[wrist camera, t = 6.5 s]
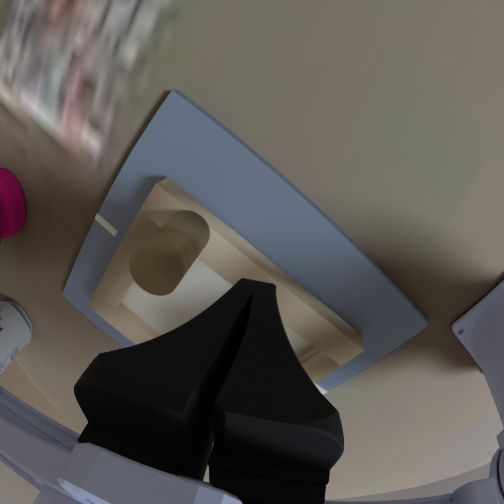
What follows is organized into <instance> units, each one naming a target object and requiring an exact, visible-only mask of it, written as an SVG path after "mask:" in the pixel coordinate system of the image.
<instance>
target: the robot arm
mask: <svg viewBox="0 0 504 504" xmlns="http://www.w3.org/2000/svg"><path fill="white" fill-rule="evenodd" d="M276 288H277V287H276V285H275V284H273V283H268V282H262V281H257V280H251V279H246V278H241V279H239V280H238V281H237V282H236V283H235V284H234V285H233V286H232V287H231V288H230V289H229V290H228V291H227V292H226V293H225V294H224V295H223V296H221V297H220V298H219V299H218V300H217V301H215V302H214V303H213V304H212V305H211V306H209V307H208V308H207V309H205V310H204V311H202V312H201V313H200V314H198V315H197V316H195V317H194V318H192V319H191V320H189V321H188V322H186V323H184V324H183V325H181V326H179V327H177V328H175V329H173V330H171V331H169V332H167V333H165V334H163V335H160V336H158V337H156V338H153V339H151V340H148V341H145V342H143V343H140V344H136V345H133V346H130V347H126V348H122V349H118V350H114V351H109V352H105V353H99V354H98V356H97V357H96V358H95V359H94V360H93V361H92V362H91V363H90V365H89V366H88V367H87V369H86V370H85V372H84V373H83V374H82V376H81V377H80V379H79V380H78V381H77V383H76V384H75V386H74V394H75V397H76V399H77V402H78V404H79V405H80V407H81V409H82V411H83V413H84V415H85V417H86V418H87V420H88V424H87V425H86V427H85V428H84V430H83V432H82V433H81V435H80V434H78V433H76V432H74V431H72V430H70V429H69V428H67V427H65V426H63V425H61V424H59V423H58V422H56V421H54V420H53V419H51V418H49V417H47V416H46V415H44V414H42V413H41V412H39V411H37V410H36V409H34V408H33V407H31V406H30V405H28V404H26V403H25V402H23V401H22V400H20V399H19V398H17V397H16V396H14V395H13V394H12V393H10V392H9V391H7V390H6V389H4V388H3V387H2V386H0V460H1V461H2V462H3V463H5V464H6V465H7V466H8V467H9V468H11V469H12V470H13V471H14V472H16V473H17V474H18V475H19V476H21V477H22V478H23V479H25V480H26V481H27V482H29V483H30V484H32V485H33V486H35V487H36V488H37V489H39V490H40V492H39V494H38V496H37V498H36V499H35V501H34V503H33V504H504V429H503V430H502V431H501V432H500V433H499V434H498V435H497V440H498V444H499V447H500V448H499V449H498V450H497V451H496V452H495V454H494V456H493V457H492V461H491V465H490V473H489V478H486V479H482V480H477V481H473V482H469V483H467V484H465V485H463V486H461V487H459V488H458V489H456V490H455V491H454V492H453V493H451V494H445V495H439V496H432V497H424V498H416V499H405V500H392V501H368V502H367V501H364V502H351V501H325V490H326V485H327V484H328V482H329V474H330V469H331V468H332V467H333V466H334V464H335V463H336V462H337V461H338V460H339V458H340V457H341V455H342V453H343V451H344V436H343V429H342V424H341V420H340V416H339V412H338V411H337V410H336V408H335V407H334V406H333V405H332V404H331V403H330V402H329V401H328V400H327V399H326V398H325V397H324V396H323V395H322V393H321V392H320V391H319V389H318V388H317V387H316V386H315V384H314V383H313V382H312V380H311V379H310V377H309V376H308V374H307V373H306V371H305V370H304V368H303V366H302V365H301V363H300V361H299V360H298V358H297V356H296V354H295V352H294V350H293V348H292V346H291V344H290V341H289V339H288V337H287V334H286V331H285V329H284V326H283V323H282V319H281V316H280V312H279V308H278V303H277V296H276ZM461 329H462V330H461ZM460 330H461V331H460ZM452 331H453V333H454V334H455V335H456V336H457V338H458V339H459V340H460V341H461V343H462V344H463V345H464V347H465V348H466V349H467V351H468V352H469V353H470V355H471V356H472V357H473V359H474V360H475V361H476V363H477V364H478V365H479V367H480V368H481V369H482V371H483V374H484V376H485V379H486V381H487V383H488V386H489V388H490V391H491V394H492V396H493V399H494V401H495V404H496V407H497V410H498V412H499V415H500V418H501V421H502V424H503V427H504V280H503V281H502V282H501V283H500V284H499V285H498V286H497V287H496V288H494V289H493V290H492V291H491V292H490V293H489V294H488V295H487V296H486V297H484V298H483V299H482V300H481V301H480V302H479V303H478V304H476V305H475V306H474V307H473V308H472V309H470V310H469V311H468V312H467V313H466V314H464V315H463V316H462V317H461V318H459V319H458V320H457V321H456V322H454V323H453V325H452ZM213 442H214V444H213ZM212 445H213V447H212ZM211 449H212V450H211ZM210 453H211V454H210ZM209 456H210V457H209ZM207 464H208V466H209V483H208V482H204V481H203V479H204V475H205V471H206V468H207Z"/></svg>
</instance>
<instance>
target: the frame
mask: <svg viewBox="0 0 504 504" xmlns="http://www.w3.org/2000/svg"><path fill="white" fill-rule="evenodd" d="M241 278H246V279H251V280H257V281H262V282H268V283H273V284H275V285H276V287H277V288H276V296H277V303H278V308H279V312H280V316H281V319H282V323H283V326H284V329H285V331H286V334H287V337H288V339H289V341H290V344H291V346H292V348H293V350H294V352H295V354H296V356H297V358H298V360H299V361H300V363H301V365H302V366H303V368H304V370H305V371H306V373H307V374H308V376H309V377H310V379H311V380H312V382H313V383H315V382H316V381H318V380H320V379H321V378H323V377H325V376H326V375H328V374H330V373H331V372H333V371H334V370H336V369H337V368H339V367H341V366H342V365H344V364H345V363H347V362H348V361H350V360H351V359H353V358H354V357H356V356H357V355H359V354H360V353H362V352H363V351H364V344H363V337H362V335H361V334H360V333H359V332H357V331H356V330H355V329H354V328H353V327H351V326H350V325H349V324H348V323H347V322H345V321H344V320H343V319H342V318H340V317H339V316H338V315H337V314H336V313H334V312H333V311H332V310H331V309H329V308H328V307H327V306H326V305H325V304H323V303H322V302H321V301H320V300H318V299H317V298H316V297H315V296H314V295H312V294H311V293H310V292H309V291H307V290H306V289H305V288H304V287H303V286H301V285H300V284H299V283H298V282H296V281H295V280H294V279H293V278H292V277H290V276H289V275H288V274H287V273H285V272H284V271H283V270H282V269H281V268H279V267H278V266H277V265H276V264H274V263H273V262H272V261H271V260H270V259H268V258H267V257H266V256H265V255H263V254H262V253H261V252H260V251H258V250H257V249H256V248H255V247H254V246H252V245H251V244H250V243H249V242H247V241H246V240H245V239H244V238H243V237H241V236H240V235H239V234H238V233H236V232H235V231H234V230H233V229H231V228H230V227H229V226H228V225H226V224H225V223H224V222H223V221H222V220H220V219H219V218H218V217H217V216H215V215H214V214H213V213H212V212H210V211H209V210H208V209H207V208H206V207H204V206H203V205H202V204H201V203H199V202H198V201H197V200H196V199H194V198H193V197H192V196H191V195H189V194H188V193H187V192H186V191H184V190H183V189H182V188H181V187H180V186H178V185H177V184H176V183H175V182H173V181H172V180H171V179H170V178H168V177H167V178H165V179H163V180H162V181H160V182H158V183H156V185H155V186H154V188H153V189H152V191H151V193H150V194H149V196H148V197H147V199H146V201H145V202H144V204H143V206H142V207H141V209H140V211H139V212H138V214H137V216H136V217H135V219H134V221H133V222H132V224H131V226H130V228H129V229H128V231H127V233H126V235H125V236H124V238H123V240H122V242H121V243H120V245H119V247H118V249H117V251H116V253H115V254H114V256H113V258H112V260H111V262H110V264H109V266H108V267H107V269H106V271H105V273H104V275H103V277H102V279H101V281H100V283H99V285H98V287H97V289H96V291H95V293H94V295H93V297H92V299H91V301H90V303H89V307H90V308H91V309H92V310H93V311H95V312H96V313H97V314H98V315H99V316H101V317H102V318H103V319H104V320H105V321H107V322H108V323H109V324H110V325H112V326H113V327H114V328H115V329H116V330H118V331H119V332H120V333H122V334H123V335H124V336H125V337H127V338H128V339H129V340H131V341H132V342H133V343H134V344H140V343H143V342H145V341H148V340H151V339H153V338H156V337H158V336H160V335H163V334H165V333H167V332H169V331H171V330H173V329H175V328H177V327H179V326H181V325H183V324H184V323H186V322H188V321H189V320H191V319H192V318H194V317H195V316H197V315H198V314H200V313H201V312H202V311H204V310H205V309H207V308H208V307H209V306H211V305H212V304H213V303H214V302H215V301H217V300H218V299H219V298H220V297H221V296H223V295H224V294H225V293H226V292H227V291H228V290H229V289H230V288H231V287H232V286H233V285H234V284H235V283H236V282H237V281H238V280H239V279H241Z"/></svg>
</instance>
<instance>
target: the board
mask: <svg viewBox="0 0 504 504" xmlns="http://www.w3.org/2000/svg"><path fill="white" fill-rule="evenodd" d="M167 177H168V178H170V179H171V180H172V181H173V182H175V183H176V184H177V185H178V186H180V187H181V188H182V189H183V190H184V191H186V192H187V193H188V194H189V195H191V196H192V197H193V198H194V199H196V200H197V201H198V202H199V203H201V204H202V205H203V206H204V207H206V208H207V209H208V210H209V211H210V212H212V213H213V214H214V215H215V216H217V217H218V218H219V219H220V220H222V221H223V222H224V223H225V224H226V225H228V226H229V227H230V228H231V229H233V230H234V231H235V232H236V233H238V234H239V235H240V236H241V237H243V238H244V239H245V240H246V241H247V242H249V243H250V244H251V245H252V246H254V247H255V248H256V249H257V250H258V251H260V252H261V253H262V254H263V255H265V256H266V257H267V258H268V259H270V260H271V261H272V262H273V263H274V264H276V265H277V266H278V267H279V268H281V269H282V270H283V271H284V272H285V273H287V274H288V275H289V276H290V277H292V278H293V279H294V280H295V281H296V282H298V283H299V284H300V285H301V286H303V287H304V288H305V289H306V290H307V291H309V292H310V293H311V294H312V295H314V296H315V297H316V298H317V299H318V300H320V301H321V302H322V303H323V304H325V305H326V306H327V307H328V308H329V309H331V310H332V311H333V312H334V313H336V314H337V315H338V316H339V317H340V318H342V319H343V320H344V321H345V322H347V323H348V324H349V325H350V326H351V327H353V328H354V329H355V330H356V331H357V332H359V333H360V334H361V335H362V337H363V344H364V351H363V352H362V353H360V354H359V355H357V356H356V357H354V358H353V359H351V360H350V361H348V362H347V363H345V364H344V365H342V366H341V367H339V368H337V369H336V370H334V371H333V372H331V373H330V374H328V375H326V376H325V377H323V378H321V379H320V380H318V381H316V382H315V383H314V384H315V386H316V387H317V388H318V389H319V391H320V392H321V393H322V394H325V393H327V392H328V391H329V390H331V389H332V388H334V387H336V386H338V385H339V384H341V383H343V382H345V381H346V380H348V379H350V378H351V377H353V376H355V375H356V374H358V373H360V372H361V371H363V370H364V369H366V368H368V367H369V366H371V365H372V364H374V363H376V362H377V361H379V360H380V359H382V358H383V357H385V356H386V355H388V354H389V353H391V352H392V351H394V350H395V349H397V348H398V347H400V346H401V345H402V344H404V343H405V342H407V341H408V340H410V339H411V338H412V337H414V336H415V335H416V334H418V333H419V332H421V331H422V330H423V329H425V328H426V327H427V326H429V324H428V322H427V319H426V318H425V316H424V315H423V314H422V313H421V312H420V311H419V310H418V309H417V307H416V306H415V305H414V304H413V303H412V302H411V301H410V300H409V299H408V298H407V297H406V295H405V294H404V293H403V292H402V291H401V290H400V289H399V288H398V287H397V286H396V285H395V284H394V283H393V282H392V280H391V279H390V278H389V277H388V276H387V275H386V274H385V273H384V272H383V271H382V270H381V269H380V268H379V267H378V266H377V265H376V264H375V263H374V262H373V261H372V260H371V259H370V258H369V257H368V256H367V255H366V254H365V253H364V252H363V251H362V250H361V249H360V248H359V247H358V246H357V245H356V244H355V243H354V242H353V241H352V240H351V239H350V238H349V237H348V236H347V235H346V234H345V233H344V232H343V231H342V230H341V229H340V228H339V227H338V226H337V225H336V224H335V223H334V222H333V221H332V220H331V219H330V218H329V217H328V216H326V215H325V214H324V213H323V212H322V211H321V210H320V209H319V208H318V207H317V206H316V205H315V204H314V203H313V202H311V201H310V200H309V199H308V198H307V197H306V196H305V195H304V194H303V193H302V192H301V191H299V190H298V189H297V188H296V187H295V186H294V185H293V184H292V183H291V182H289V181H288V180H287V179H286V178H285V177H284V176H283V175H282V174H280V173H279V172H278V171H277V170H276V169H275V168H274V167H272V166H271V165H270V164H269V163H268V162H267V161H265V160H264V159H263V158H262V157H261V156H260V155H258V154H257V153H256V152H255V151H254V150H253V149H251V148H250V147H249V146H248V145H247V144H245V143H244V142H243V141H242V140H241V139H239V138H238V137H237V136H236V135H234V134H233V133H232V132H231V131H230V130H228V129H227V128H226V127H225V126H223V125H222V124H221V123H220V122H218V121H217V120H216V119H215V118H213V117H212V116H211V115H209V114H208V113H207V112H206V111H204V110H203V109H202V108H201V107H199V106H198V105H197V104H195V103H194V102H193V101H191V100H190V99H189V98H187V97H186V96H185V95H183V94H182V93H181V92H179V91H178V90H172V91H171V92H170V94H169V95H168V97H167V98H166V99H165V101H164V102H163V104H162V105H161V107H160V108H159V110H158V111H157V112H156V114H155V115H154V117H153V118H152V120H151V121H150V123H149V125H148V126H147V128H146V129H145V131H144V132H143V134H142V135H141V137H140V139H139V140H138V142H137V143H136V145H135V147H134V148H133V150H132V152H131V153H130V155H129V157H128V158H127V160H126V162H125V164H124V165H123V167H122V169H121V170H120V172H119V174H118V176H117V178H116V179H115V181H114V183H113V185H112V187H111V189H110V190H109V192H108V194H107V196H106V198H105V200H104V202H103V204H102V206H101V208H100V210H99V212H98V213H97V215H96V217H95V220H94V222H93V224H92V226H91V228H90V230H89V232H88V234H87V237H86V239H85V241H84V243H83V245H82V248H81V250H80V252H79V254H78V257H77V259H76V261H75V264H74V266H73V268H72V271H71V273H70V276H69V278H68V281H67V283H66V286H65V288H64V291H63V294H62V296H63V297H65V298H66V299H67V300H68V301H69V302H70V303H71V304H72V305H73V306H74V307H75V308H77V309H78V310H79V311H80V312H81V313H82V314H83V315H84V316H85V317H87V318H88V319H89V320H90V321H91V322H92V323H94V324H95V325H96V326H97V327H98V328H99V329H101V330H102V331H103V332H104V333H105V334H107V335H108V336H109V337H110V338H112V339H113V340H114V341H115V342H117V343H118V344H119V345H120V346H122V347H123V348H126V347H130V346H133V345H136V344H134V343H133V342H132V341H131V340H129V339H128V338H127V337H125V336H124V335H123V334H122V333H120V332H119V331H118V330H116V329H115V328H114V327H113V326H112V325H110V324H109V323H108V322H107V321H105V320H104V319H103V318H102V317H101V316H99V315H98V314H97V313H96V312H95V311H93V310H92V309H91V308H90V307H89V303H90V301H91V299H92V297H93V295H94V293H95V291H96V289H97V287H98V285H99V283H100V281H101V279H102V277H103V275H104V273H105V271H106V269H107V267H108V266H109V264H110V262H111V260H112V258H113V256H114V254H115V253H116V251H117V249H118V247H119V245H120V243H121V242H122V240H123V238H124V236H125V235H126V233H127V231H128V229H129V228H130V226H131V224H132V222H133V221H134V219H135V217H136V216H137V214H138V212H139V211H140V209H141V207H142V206H143V204H144V202H145V201H146V199H147V197H148V196H149V194H150V193H151V191H152V189H153V188H154V186H155V185H156V183H158V182H160V181H162V180H163V179H165V178H167Z"/></svg>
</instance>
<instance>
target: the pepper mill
mask: <svg viewBox="0 0 504 504" xmlns="http://www.w3.org/2000/svg"><path fill="white" fill-rule="evenodd" d="M25 215H26V207H25V200H24V195H23V192H22V189H21V186H20V184H19V182H18V181H17V179H16V177H15V176H14V175H13V174H12V173H11V172H10V171H8V170H6V169H0V242H1V238H4V239H5V238H8V237H9V236H11V235H13V234H14V233H16V232H17V231H19V230H20V229H21V228H22V226H23V224H24V221H25Z"/></svg>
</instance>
